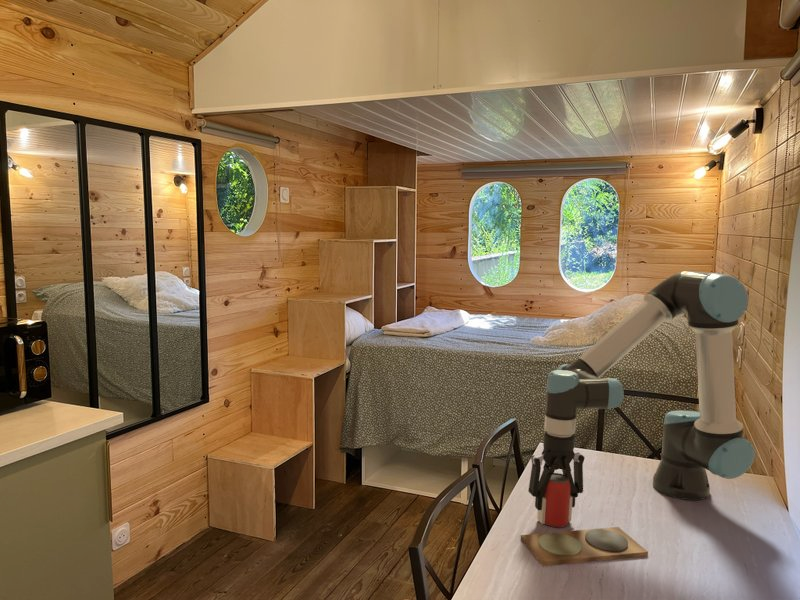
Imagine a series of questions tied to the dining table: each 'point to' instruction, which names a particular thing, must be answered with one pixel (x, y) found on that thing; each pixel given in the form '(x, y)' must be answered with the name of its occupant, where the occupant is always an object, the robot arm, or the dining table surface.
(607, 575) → the dining table surface
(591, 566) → the dining table surface
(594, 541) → the seat board
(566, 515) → the beer can
